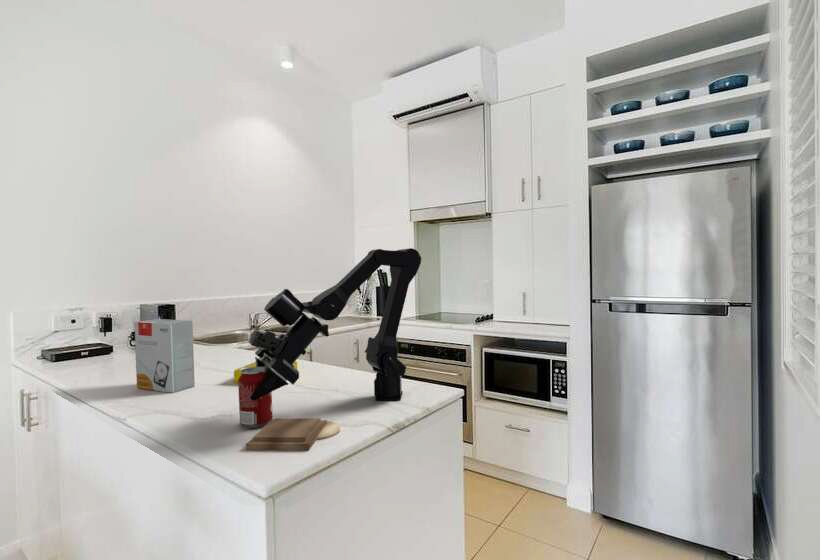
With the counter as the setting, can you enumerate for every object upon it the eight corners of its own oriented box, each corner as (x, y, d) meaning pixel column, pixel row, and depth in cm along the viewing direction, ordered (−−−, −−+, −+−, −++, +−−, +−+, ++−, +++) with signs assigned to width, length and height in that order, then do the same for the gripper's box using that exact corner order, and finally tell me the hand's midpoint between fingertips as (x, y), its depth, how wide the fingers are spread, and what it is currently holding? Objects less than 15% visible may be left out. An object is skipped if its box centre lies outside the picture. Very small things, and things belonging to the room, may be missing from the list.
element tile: (299, 374, 137) (299, 359, 137) (276, 386, 122) (276, 370, 122) (258, 373, 140) (258, 358, 140) (231, 385, 125) (230, 369, 125)
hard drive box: (135, 389, 122) (132, 321, 122) (159, 382, 129) (157, 318, 129) (173, 393, 116) (170, 323, 116) (196, 386, 124) (193, 319, 123)
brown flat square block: (326, 425, 89) (326, 416, 89) (309, 450, 77) (308, 439, 77) (272, 425, 90) (272, 416, 90) (246, 449, 78) (246, 439, 78)
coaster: (344, 423, 90) (344, 420, 90) (333, 440, 81) (333, 437, 81) (304, 423, 91) (303, 420, 91) (289, 440, 82) (288, 437, 82)
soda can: (253, 432, 86) (251, 374, 86) (233, 426, 90) (231, 371, 90) (279, 421, 92) (277, 367, 92) (259, 416, 96) (257, 364, 95)
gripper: (262, 313, 100) (214, 365, 95) (281, 320, 84) (224, 382, 79) (296, 342, 105) (251, 393, 99) (320, 353, 89) (268, 415, 83)
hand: (248, 395), depth 90 cm, fingers closed on soda can, 7 cm apart
